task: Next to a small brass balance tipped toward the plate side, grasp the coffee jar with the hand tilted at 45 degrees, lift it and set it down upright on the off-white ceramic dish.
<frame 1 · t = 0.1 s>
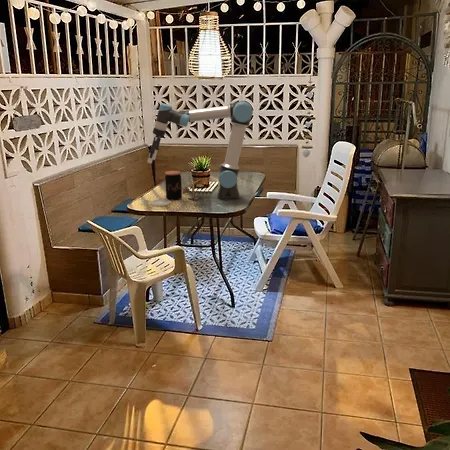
hand: (151, 161, 303), 28 cm above the table, tool tilted 20°, fingers open, 13 cm apart
coffee jar: (174, 198, 323), on the table
dish: (160, 203, 310), on the table
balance: (193, 199, 319), on the table
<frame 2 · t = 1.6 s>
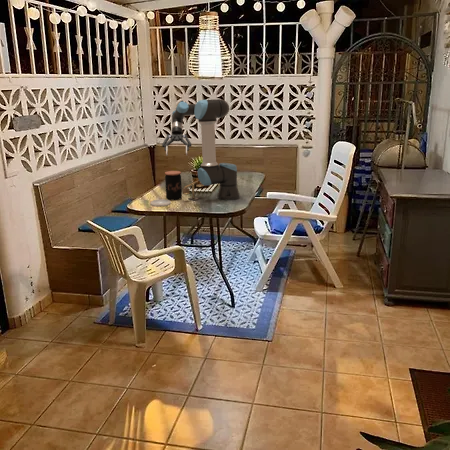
hand: (176, 154, 328), 28 cm above the table, tool tilted 45°, fingers open, 13 cm apart
nothing on the table moved.
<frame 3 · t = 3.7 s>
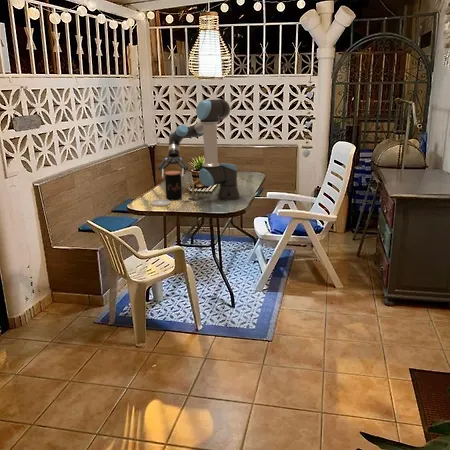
hand: (172, 177, 324), 13 cm above the table, tool tilted 45°, fingers open, 13 cm apart
nothing on the table moved.
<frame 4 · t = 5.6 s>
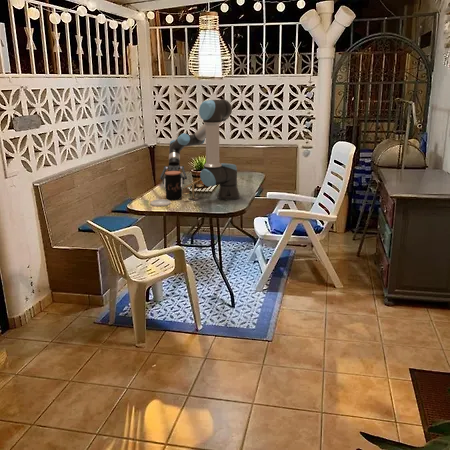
hand: (173, 187, 318), 8 cm above the table, tool tilted 45°, fingers closed on coffee jar, 11 cm apart
coffee jar: (174, 198, 323), on the table, touching gripper
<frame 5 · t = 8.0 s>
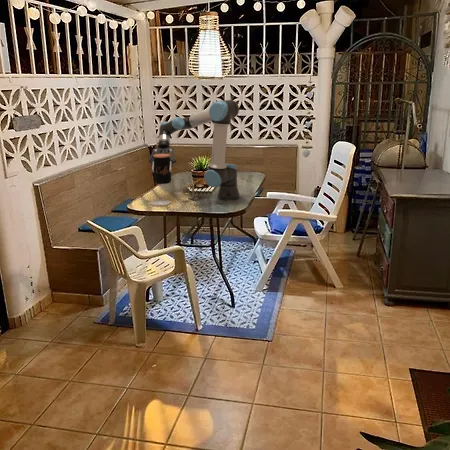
hand: (161, 171, 307), 21 cm above the table, tool tilted 45°, fingers closed on coffee jar, 11 cm apart
coffee jar: (163, 182, 313), point 13 cm above the table, touching gripper
when the fingers open (11 cm above the table, at t = 10.9 s): coffee jar drops 1 cm, resting on dish.
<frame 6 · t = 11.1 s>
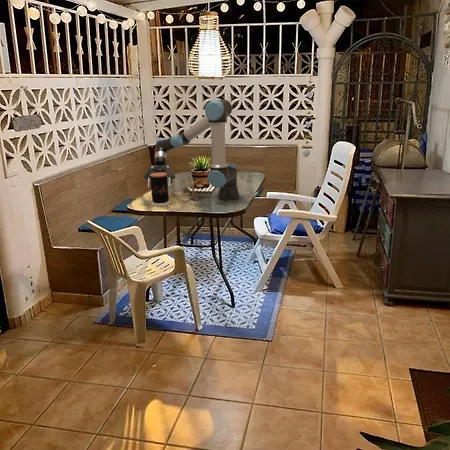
hand: (159, 187, 304), 12 cm above the table, tool tilted 45°, fingers open, 13 cm apart
coffee jar: (160, 201, 310), point 2 cm above the table, touching dish
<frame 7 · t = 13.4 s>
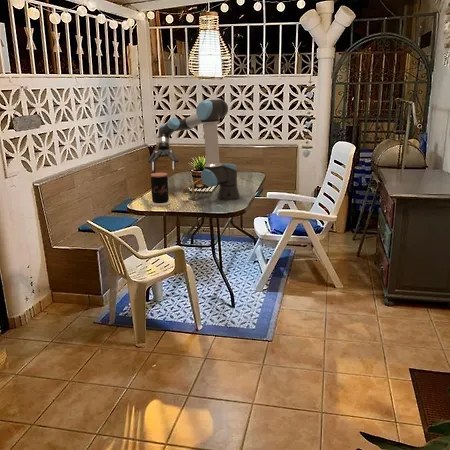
hand: (163, 170, 319), 19 cm above the table, tool tilted 45°, fingers open, 13 cm apart
nothing on the table moved.
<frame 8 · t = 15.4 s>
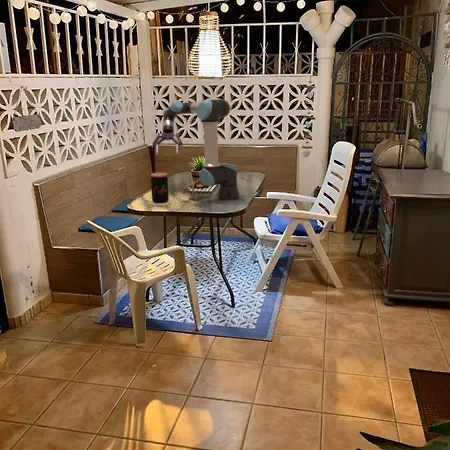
hand: (167, 153, 320), 30 cm above the table, tool tilted 45°, fingers open, 13 cm apart
nothing on the table moved.
at the end: coffee jar 0.2 cm from the dish (horizontally); coffee jar tilted 0°; the gripper is holding nothing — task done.
